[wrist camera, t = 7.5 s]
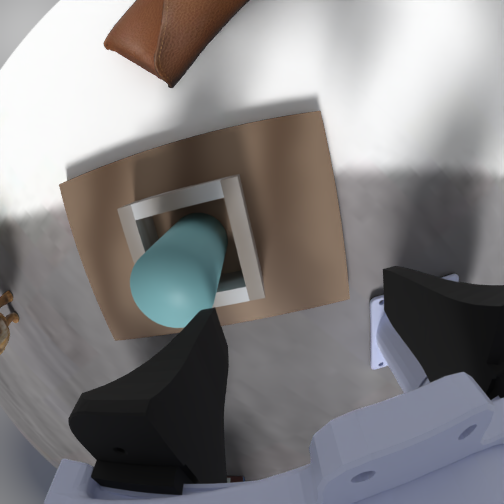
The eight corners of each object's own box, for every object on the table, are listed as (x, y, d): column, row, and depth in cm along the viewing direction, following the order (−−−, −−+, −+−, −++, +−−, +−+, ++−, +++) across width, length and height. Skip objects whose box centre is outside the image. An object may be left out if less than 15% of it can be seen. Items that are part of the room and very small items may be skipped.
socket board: (316, 113, 19) (332, 103, 15) (345, 292, 23) (362, 318, 19) (67, 182, 20) (36, 189, 16) (119, 333, 24) (102, 360, 20)
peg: (221, 207, 20) (203, 239, 12) (232, 262, 21) (224, 322, 13) (165, 218, 20) (119, 255, 12) (179, 272, 21) (145, 331, 14)
